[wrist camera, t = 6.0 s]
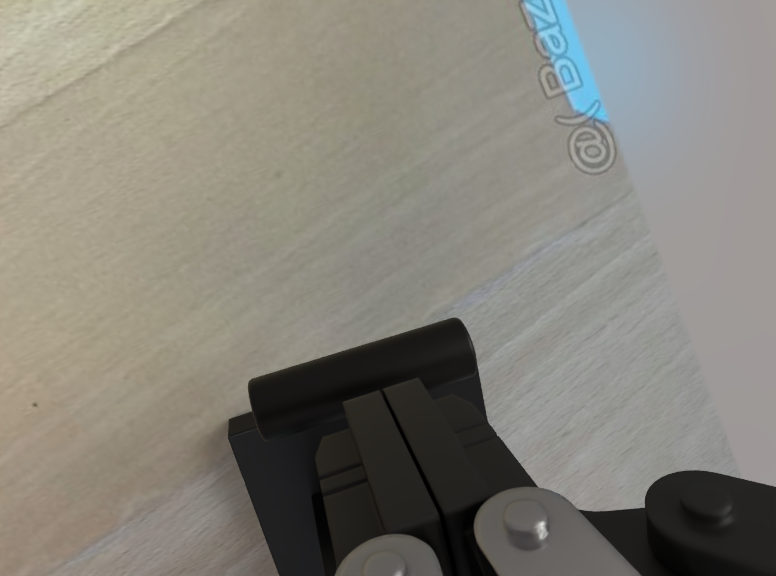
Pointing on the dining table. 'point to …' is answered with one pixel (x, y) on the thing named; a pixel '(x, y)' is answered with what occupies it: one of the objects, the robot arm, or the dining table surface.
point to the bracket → (302, 486)
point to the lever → (359, 377)
